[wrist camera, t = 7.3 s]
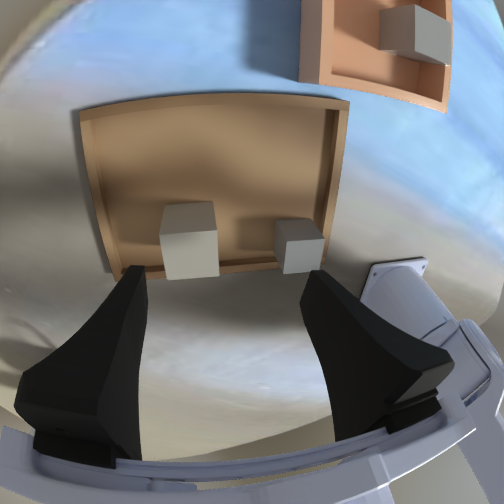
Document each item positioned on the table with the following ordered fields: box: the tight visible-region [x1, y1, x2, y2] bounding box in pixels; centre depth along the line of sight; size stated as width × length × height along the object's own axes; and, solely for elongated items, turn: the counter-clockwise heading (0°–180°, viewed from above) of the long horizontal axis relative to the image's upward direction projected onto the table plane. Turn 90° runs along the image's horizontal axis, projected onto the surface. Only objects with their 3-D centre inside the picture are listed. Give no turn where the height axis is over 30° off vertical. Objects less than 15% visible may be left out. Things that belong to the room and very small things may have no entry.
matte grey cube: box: [379, 4, 451, 66], centre depth 12 cm, size 3×3×4 cm
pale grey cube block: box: [159, 202, 219, 280], centre depth 19 cm, size 3×3×4 cm
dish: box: [298, 0, 453, 114], centre depth 12 cm, size 10×10×4 cm
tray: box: [79, 93, 350, 282], centre depth 19 cm, size 13×17×1 cm
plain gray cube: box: [273, 218, 325, 274], centre depth 21 cm, size 3×3×3 cm
